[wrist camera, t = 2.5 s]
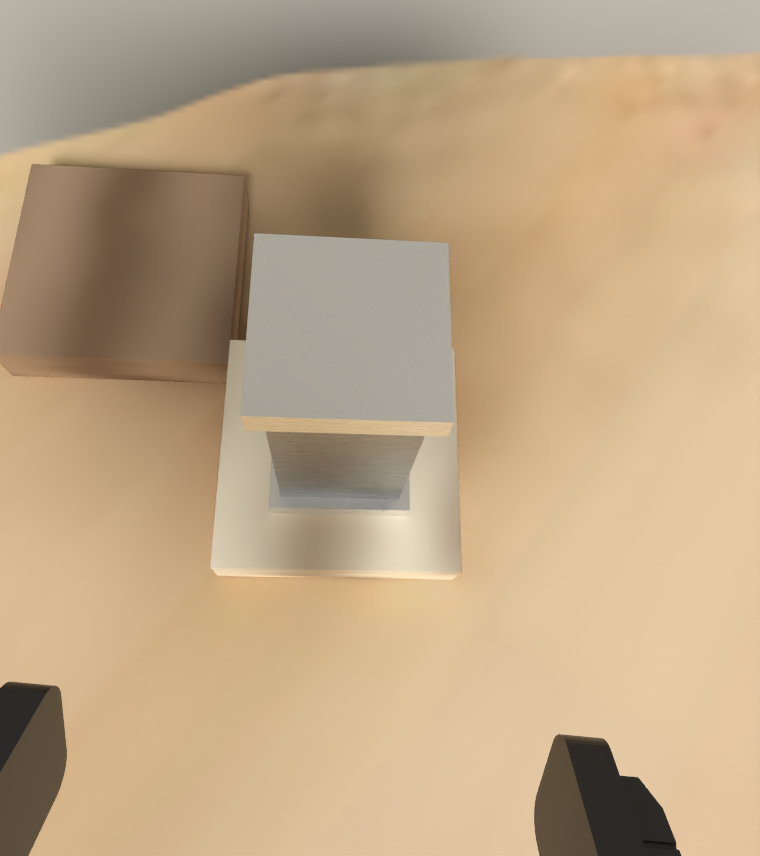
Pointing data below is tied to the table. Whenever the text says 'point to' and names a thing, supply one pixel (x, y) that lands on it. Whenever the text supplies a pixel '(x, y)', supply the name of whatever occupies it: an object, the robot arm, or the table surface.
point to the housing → (346, 368)
